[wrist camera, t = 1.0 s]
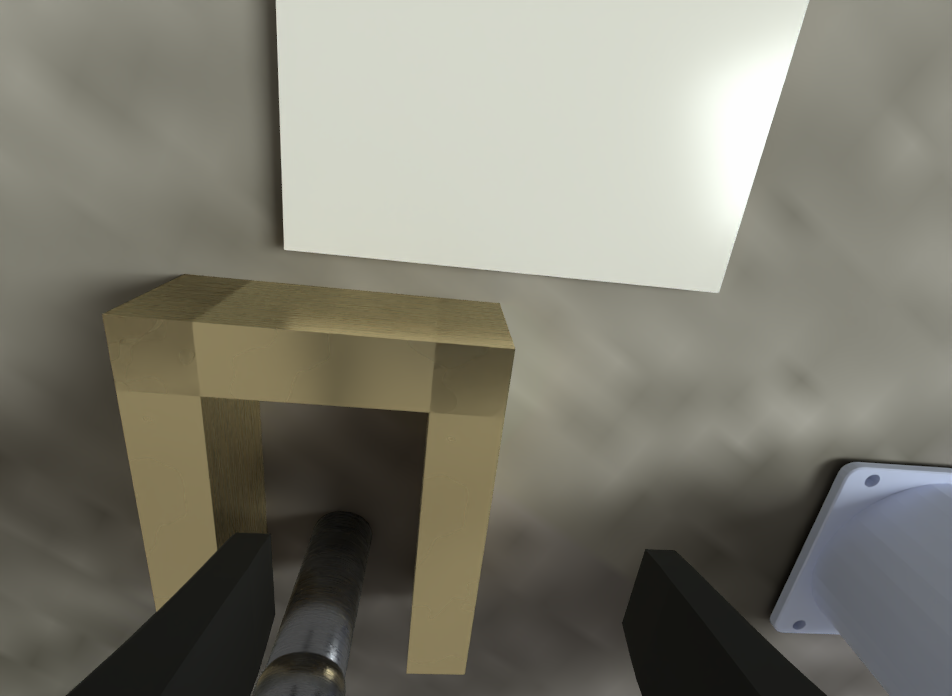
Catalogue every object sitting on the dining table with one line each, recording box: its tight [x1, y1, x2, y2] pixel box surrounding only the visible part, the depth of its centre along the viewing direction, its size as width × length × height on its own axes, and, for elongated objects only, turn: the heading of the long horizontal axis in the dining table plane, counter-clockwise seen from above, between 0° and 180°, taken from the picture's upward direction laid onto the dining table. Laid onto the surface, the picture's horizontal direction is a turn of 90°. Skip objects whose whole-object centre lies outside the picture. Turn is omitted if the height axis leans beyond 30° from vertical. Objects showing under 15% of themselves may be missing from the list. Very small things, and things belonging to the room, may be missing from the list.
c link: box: [102, 274, 515, 675], centre depth 14 cm, size 9×11×4 cm
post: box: [253, 512, 372, 696], centre depth 14 cm, size 2×2×7 cm
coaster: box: [276, 0, 809, 293], centre depth 11 cm, size 12×12×1 cm
